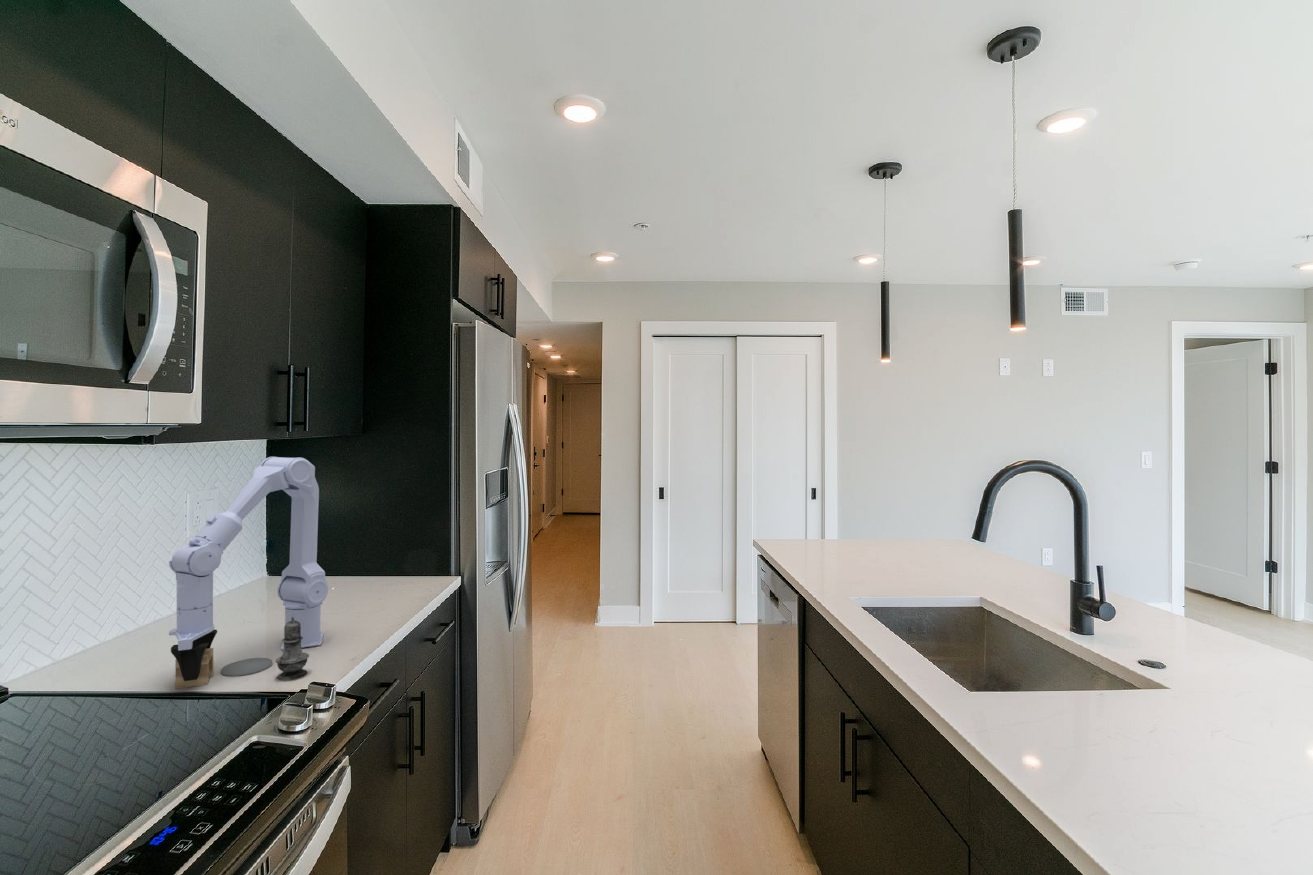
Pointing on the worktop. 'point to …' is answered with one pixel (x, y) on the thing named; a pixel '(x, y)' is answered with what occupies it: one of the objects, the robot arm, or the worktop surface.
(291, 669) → the dark grey stone ornament
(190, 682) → the slotted wooden block
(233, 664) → the pad
